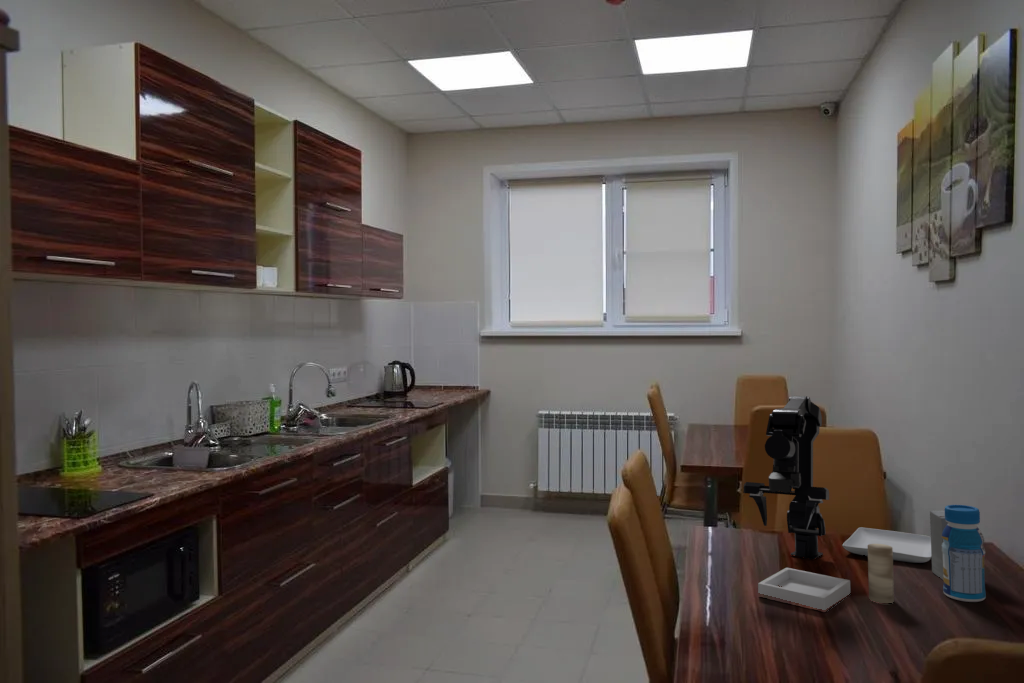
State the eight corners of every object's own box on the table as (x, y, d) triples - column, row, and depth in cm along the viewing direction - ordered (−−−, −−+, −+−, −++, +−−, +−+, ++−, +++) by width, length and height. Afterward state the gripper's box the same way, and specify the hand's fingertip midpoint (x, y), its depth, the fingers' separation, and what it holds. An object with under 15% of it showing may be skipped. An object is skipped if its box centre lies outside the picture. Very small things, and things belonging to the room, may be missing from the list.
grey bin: (786, 580, 178) (786, 567, 178) (850, 594, 168) (850, 580, 168) (758, 597, 168) (758, 583, 168) (824, 613, 157) (824, 598, 157)
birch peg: (873, 594, 167) (872, 542, 167) (897, 599, 164) (895, 546, 164) (865, 600, 164) (864, 547, 164) (889, 606, 160) (888, 551, 160)
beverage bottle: (965, 605, 159) (963, 513, 159) (933, 592, 167) (931, 505, 167) (996, 600, 162) (993, 510, 161) (963, 588, 170) (960, 502, 170)
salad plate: (931, 569, 184) (930, 556, 184) (841, 556, 197) (840, 544, 197) (942, 549, 201) (942, 536, 201) (859, 538, 214) (858, 526, 214)
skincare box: (965, 572, 180) (963, 508, 180) (981, 582, 173) (979, 515, 173) (929, 572, 181) (927, 508, 181) (943, 582, 174) (941, 515, 174)
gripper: (738, 457, 175) (736, 524, 172) (822, 462, 165) (822, 533, 162) (749, 460, 184) (748, 523, 181) (829, 464, 174) (829, 531, 172)
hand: (785, 527), depth 174 cm, fingers open, 9 cm apart
